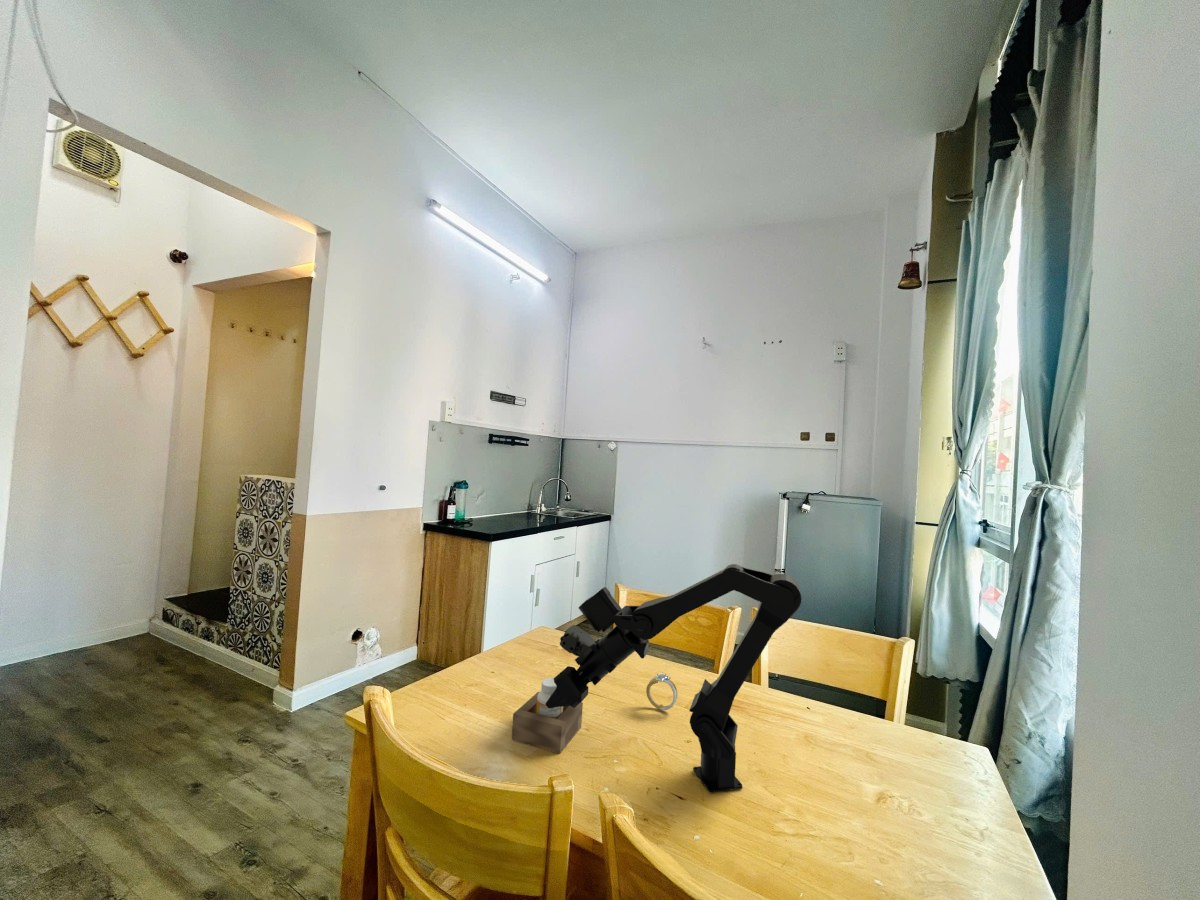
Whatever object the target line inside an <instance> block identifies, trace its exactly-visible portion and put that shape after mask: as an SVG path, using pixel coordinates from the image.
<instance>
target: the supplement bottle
mask: <svg viewBox="0 0 1200 900" xmlns="http://www.w3.org/2000/svg"><path fill="white" fill-rule="evenodd" d="M554 678H555V677H548V678H545V679H542V680H541V687H540V688H541V690H540V691H538V692H539V693H538V696H537V711H536V714H538V715H542V716H546V717H550V718H554V719H557V718H558V717H559V716H560V715H561V714H562V713H563V706H562V707H555V708H548V707H547V706H546V702H547V701H548V699H549V698H550V696H551V695H552V693H553V692H554V691H555V689H556V687H557V686H556V684H555V683H554Z"/></svg>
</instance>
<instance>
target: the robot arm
mask: <svg viewBox="0 0 1200 900" xmlns="http://www.w3.org/2000/svg"><path fill="white" fill-rule="evenodd" d="M732 591H735V592H737V593H740V594H742V595H745V596H747V597H749V598H750V599H752V600H755V601H757V602H759V603H758V607H757V610H756V613H755V615H754V617H753V619H752V621H751V622H750V624H749V626H748V627H747V628H746V631H745V632H744V634H743V636H742V637H741V638H740V641H739V642H738V644H737V646H735V649H734V650H733V652H732V654H731V656H730V658H729V659H728V660H727V662H726V664H725V666H724V667H723V669H722V671H721V673H720V674H719V675H718V677H717V679H715V680H714V681H713V682H712V683H710V682H709V681H708V680H707V679H704V680H703V683H702V685H701V686H702V687H701V688H700V690H699V691H698V692H697V693H696V694H694V697H693V699H692V702H691V704H690V708H689V710H688V711H689V712H690V713H691V715H690V718H689V724H690V728H691V729H690V730H692V732H693V734H694V735H695V736H696V737H697V740H698V742H699V745H700V748H701V749H700V751H701V752H700V766H693V767H692V770H693V773H694V775H696V777H697V778H698V779H699V781H700V782H701V783H702V785H703V786H704V787H705V789H706V790H707V792H708V793H711V794H712V793H714V794H715V793H720V792H721V793H722V792H727V791H735V790H740V789H743V784H742V781H740V780H739V779H738V778H737V777H736V760H737V752H736V740H737V733H738V726H739V725H738V724H737V723H736V721H735V720H734V719H733V718H732V716H731V715H730V711H731V708H732V706H733V703H734V700H735V697H736V695H737V694H738V693H739V691H740V689H741V687H742V685H743V684H744V682H745V681H746V679H747V678H748V676H749V674H750V673H751V671H752V669H753V668H754V666H755V664H756V663H757V661H758V659H759V658H760V656H761V654H762V653H763V651H764V650H765V648H766V646H767V645H768V643H769V641H770V639H771V638H772V636H773V634H774V633H775V632H776V631H778V629H780V628H781V627H782V626H783V625H784V624H785V623H787V622H788V621H789V620H790V619H791V617H792V616H793V615H794V614H795V613H796V612H797V611H798V610H799V608H800V606H801V603H802V595H801V590H800V585H799V583H798V582H797V580H796V578H794V577H793V576H792V575H789V574H786V573H781V572H780V573H776V574H771V573H768V572H764V571H761V570H756V569H752V568H746V567H744V566H742V565H740V564H734V563H731V564H729V565H727V566H726V567H725V568H723V569H722V570H720V571H718V572H716V573H714V574H712V575H710V576H708V577H706V578H704V579H702V580H700V581H698V582H696V583H694V584H692V585H690V586H688V587H686V588H684V589H682V590H680V591H678V592H676V593H674V594H671V595H668V596H663V597H662V596H661V597H658V598H653V599H651V600H648V601H644V602H643V603H641V604H640V605H624V606H623V607H621V606H620V605H619V603H618V602H617V601H616V600H615V598H614V597H613V596H612V594H611V592H610V590H609V589H608V588H607V587H606V586H604V587H603V588H601V589H600V590H599V591H598V592H596V593H595V594H593V595H592V596H590V597H589V598H587V599H586V600H585V601H584V602H583V603H582V604H580V605H579V607H578V609H579V611H580V612H581V614H582V615H583V616H584V618H585V619H586V620H587V621H588V623H589V624H590V625H591V627H592V629H594V631H595V632H596V631H597V633H600V632H601V631H602V633H605V631H607V630H608V629H609V628H611V626H612V625H615V626H614V627H613V628H612V629H611V630H610V631H609V632H608V633H606V634H605V635H604V636H603V637H599V638H598V639H597V640H596V639H594V638H593V637H592V636H591V635H590V634H589V633H587V632H586V631H585V630H583V629H582V628H581V627H579V626H578V625H575V624H573V625H571V626H569V627H568V628H567V629H565V632H564V634H563V635H562V636H561V637H560V638H559V639H560V640H559V646H560V647H561V648H563V649H564V650H565V651H566V652H568V653H569V654H572V655H574V656H576V658H575V659H574V662H576V664H577V665H578V666H579V667H578V668H577V669H576V668H575V667H574V666H569V665H567V666H566V667H565V668H564V669H562V670H561V671H560V672H559V673H558V674H557V675H556V676H554V677H553V678H554V683H555V684H556V686H557V687H556V689H555V691H554V692H553V693H552V695H551V696H550V698H549V699H548V701H547V702H546V706H547V707H548V708H555V707H562V706H571V707H573V708H575V707H576V706H577V705H578V704H580V703H581V702H583V701H584V700H585V698H587V696H588V695H589V686H588V684H589V683H592V684H593V685H594V686H596V685H597V684H599V682H600V681H602V679H604V677H606V676H607V675H608V674H611V673H612V672H613V671H614V670H615V669H616V668H617V667H618V666H619V665H620V664H622V662H624V661H625V660H626V659H627V658H628V657H630V656H631V655H632V654H633V653H634V652H635V653H636V654H637V655H638V656H639V657H640V659H642V660H643V659H644V658H645V657H646V656H647V654H648V653H649V643H650V640H652V639H653V638H655V637H656V636H657V635H658V634H660V633H661V632H662V631H664V630H665V629H666V628H668V627H669V626H670V625H671V624H672V623H674V622H675V621H676V620H677V619H679V618H680V617H681V616H684V615H686V614H688V613H690V612H692V611H694V610H696V609H698V608H700V607H702V606H704V605H706V604H709V603H710V602H713V601H715V600H717V599H719V598H721V597H723V596H725V595H727V594H728V593H731V592H732Z"/></svg>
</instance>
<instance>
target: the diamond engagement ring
mask: <svg viewBox="0 0 1200 900" xmlns="http://www.w3.org/2000/svg"><path fill="white" fill-rule="evenodd" d="M659 682H660V683H665V684H667V685H668V686H669V687H670V688H671V691H672V695H673V699H672V702H671V703H670V704H669V705H663V704H658V703H657V702H656V701H655V700H654V699H653V695H652V694H651V687H652V686H653V685H655V684H658V683H659ZM645 691H646V696H647V697H646V698H647V699H648V701H649V702H650V704H651V706H653V707H655V709H658V711H660V712H662V711H668V710H670V709H672V708H673V707H674V705H675V704H676V703H677V700H678V689H677V686H676V684H675V683H674V681H672V680H671V677H670V676H669V675H667V674H666V673H665V674H664V672H661V674H659V673H656V675H655V676H653V677H652V678H651V679H650V680H649V682H648V684H647V685H646V688H645Z"/></svg>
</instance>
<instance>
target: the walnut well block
mask: <svg viewBox="0 0 1200 900" xmlns="http://www.w3.org/2000/svg"><path fill="white" fill-rule="evenodd" d="M539 692H540V691H537V692H536V693H535V694H534V695H533V696H531V697H530V698H529V699H528V700H527V701H526V702H525V703H523V704H522V705H521V706H520V707H519V708H518V709H516V710H515V711H514V712H513V713H512V725H511V726H512V727H511V741H514V742H518V743H521V744H524V745H525V744H526V745H528V746H529V745H530V746H531V747H534V748H539V749H543V750H546V751H548V752H553V753H556V754H559V755H560V754H561V753H562V752H563V751H564V749H565V748H567V746H568V744H569V743H570V742H571V741H572V739H574V737H575V735H576V734H577V733H578V732H579V731H580V729H581V728H582V727H583V726H582V723H583V722H582V721H583V709H584V707H583V706H584V702H583V701H582V702H581V703H580V704H578V705H577V706H576V707H575V708H573V707H571V706H563V713H562V714H561V715H560V716H559V717H558V718H557V719H554V718H550V717H546V716H542V715H538V714H536V711H537V696H538V693H539Z"/></svg>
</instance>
